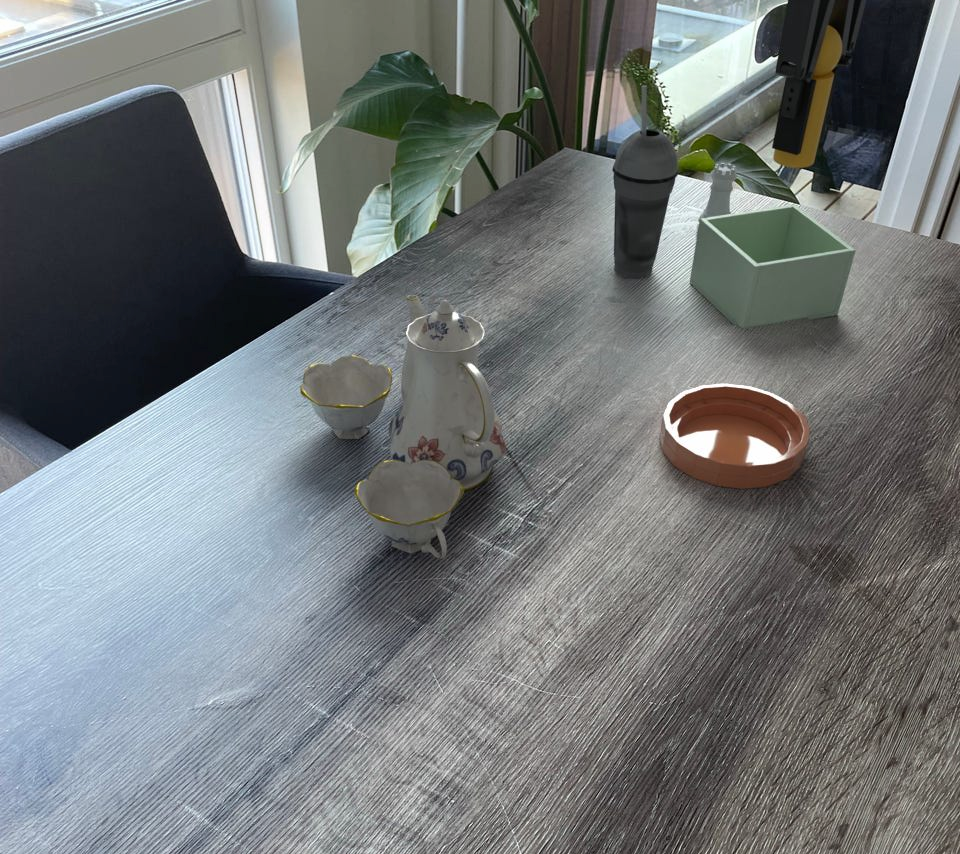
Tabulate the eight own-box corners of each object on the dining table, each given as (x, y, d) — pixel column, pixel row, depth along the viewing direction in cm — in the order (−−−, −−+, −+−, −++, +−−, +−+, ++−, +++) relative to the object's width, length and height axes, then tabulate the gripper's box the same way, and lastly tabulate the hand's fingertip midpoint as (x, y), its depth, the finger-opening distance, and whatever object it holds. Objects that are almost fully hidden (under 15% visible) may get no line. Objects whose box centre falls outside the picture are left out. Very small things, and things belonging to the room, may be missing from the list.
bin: (780, 267, 123) (795, 204, 118) (837, 315, 115) (856, 250, 110) (689, 282, 120) (699, 218, 115) (741, 332, 112) (755, 266, 107)
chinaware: (284, 429, 101) (241, 272, 89) (436, 373, 105) (415, 216, 93) (402, 606, 84) (369, 442, 72) (578, 531, 88) (576, 364, 76)
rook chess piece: (712, 221, 132) (723, 156, 126) (739, 233, 129) (751, 168, 124) (688, 231, 130) (698, 165, 124) (715, 243, 127) (727, 177, 122)
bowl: (755, 400, 103) (761, 373, 101) (830, 476, 94) (838, 449, 92) (635, 424, 100) (639, 397, 98) (701, 505, 91) (706, 478, 89)
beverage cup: (656, 288, 119) (683, 102, 105) (595, 278, 121) (613, 94, 106) (669, 261, 124) (696, 80, 110) (610, 251, 126) (629, 72, 111)
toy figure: (800, 149, 105) (829, 15, 96) (824, 165, 102) (857, 29, 93) (762, 155, 104) (788, 20, 95) (786, 171, 101) (815, 34, 92)
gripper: (864, -171, 91) (803, 111, 108) (770, -145, 82) (719, 159, 99) (946, -161, 88) (870, 128, 105) (858, -132, 79) (790, 180, 95)
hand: (797, 143), depth 102 cm, fingers closed on toy figure, 4 cm apart
